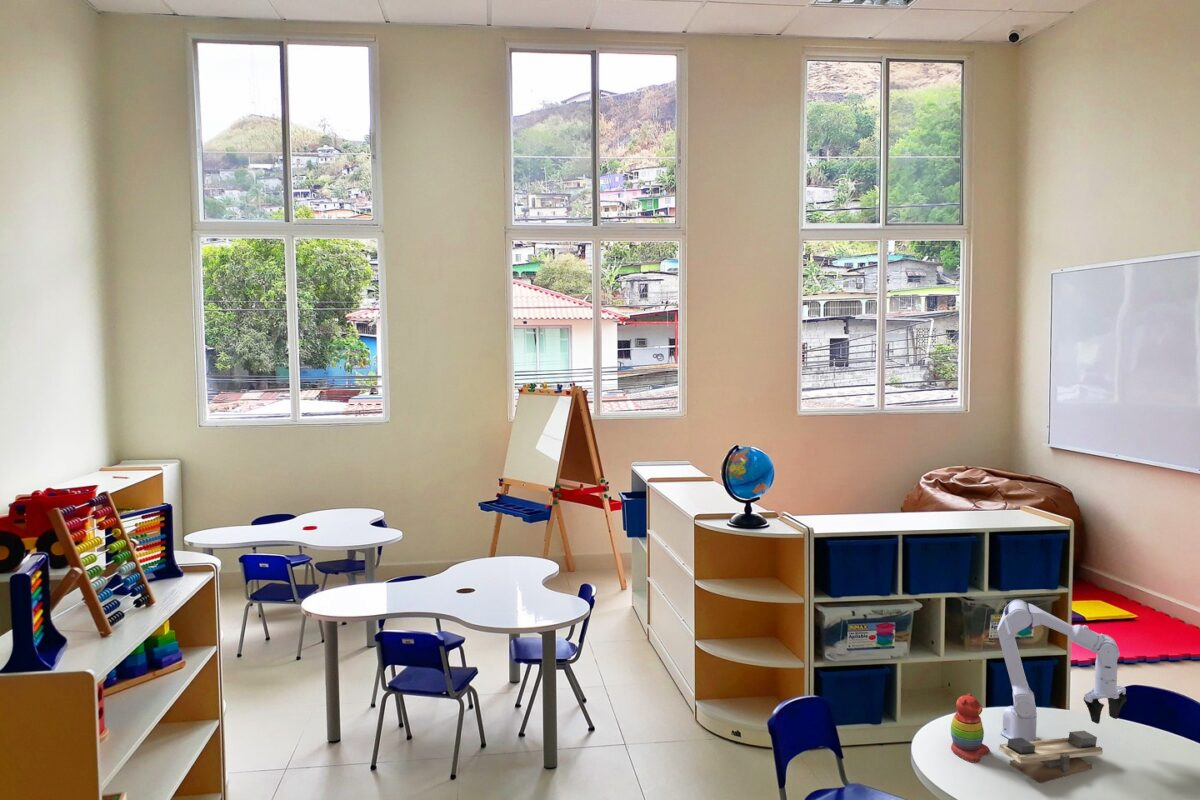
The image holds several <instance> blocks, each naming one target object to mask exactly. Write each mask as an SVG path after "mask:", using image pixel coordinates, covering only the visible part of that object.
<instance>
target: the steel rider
mask: <svg viewBox="0 0 1200 800" xmlns="http://www.w3.org/2000/svg"><path fill="white" fill-rule="evenodd" d="M1068 738H1069V740H1068V743H1069V744H1071V745H1072V746H1074V747H1076V748H1078V749H1082V748H1092V747H1097V740H1098V739H1097V736H1095V735H1093V734H1091V733H1090V732H1088V731H1086V730H1078V731H1077V730H1075V731H1069V734H1068Z"/></svg>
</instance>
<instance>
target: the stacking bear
mask: <svg viewBox="0 0 1200 800" xmlns="http://www.w3.org/2000/svg"><path fill="white" fill-rule="evenodd" d="M955 704H956V710H957V712H955V714H954V715H953V716H952V721H951V724H950V737H951V740H952V743H951V745H950V746H951V747H950V749H951V752H952V753H954V755H956V754H957V755H958V757H959V756H960V757H959V758H961V759H962V758H963V760H965V761H967V760H968V762H970V761H971V762H970V763H978V761H979V762H980V761H981V757H983V756H986V755H989V754H990V753H991V751H990V750H991V749H990V748H989V746H988V745H986V744H984V743H983V741H984V735H985V734H984V731H985V730H984V726H983V721H982V717H981V716H980V715H981V714H982V712H983V707H982V705H981V703H980V702H979V701H978V699H976V698H975V697H974V696H972V693H967V694H966V695H965V694H963V695H960V696H959V697H958V698H957V700H956V703H955ZM957 755H956V756H957Z"/></svg>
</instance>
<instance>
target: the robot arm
mask: <svg viewBox="0 0 1200 800" xmlns="http://www.w3.org/2000/svg"><path fill="white" fill-rule="evenodd" d="M1030 625H1031V626H1032V628H1033V627H1036V626H1041V625H1043V626H1045V627H1047V628H1048V629H1049V628H1050V629H1052V630H1054V631H1057V632H1059V633H1061V634H1063V635H1066V636H1068V638H1069V640H1070V642H1071V643H1074V644H1075V645H1078V646H1080V647H1082V648H1084V649H1086V650H1088V651H1090V652H1093V653H1096V656H1095V657H1096V659H1095V665H1094V667H1095V669H1094V670H1095V671H1094V688H1092V689H1091V690H1090V691H1088V692H1086V693H1084V697H1083V702H1084V704H1085V705H1086V707H1087V709H1088V712H1089V715H1090V720H1091V722H1093V723H1095V724H1097V725H1098V724H1100V721H1101V715H1102V710H1103V708H1104V707H1105V704H1104V703H1102V702H1100V699H1107V702H1108V703H1107V704H1108V714H1109V717H1111V718H1112V719H1114V720H1117V719H1118V718H1119V716H1120V715H1119V714H1120V711H1121V709H1122V707H1123V706H1124V704H1125V703H1126V702H1127V701H1128V700H1127V696H1125V695H1126V691H1127V689H1126V687H1124V686H1123V685H1117V683H1118V659H1119V658H1120V656H1121V652H1120V650H1119V646H1118V645H1117V643H1116V641H1115V639H1114V638H1113V637H1111V636H1110V635H1108V634H1103V633H1098V632H1096V631H1093V630H1091V629H1089V626H1088V625H1085V624H1084V625H1082V624H1074V625H1071V624H1070V623H1068V622H1066V621H1064V620H1062V619H1061V618H1059V617H1057V616H1055V615H1053V614H1051V613H1049V612H1047V611H1045V610H1043V609H1041V608H1039V607H1038V606H1036V605H1034V604H1032V603H1027V602H1026V601H1025V600H1022V599H1014V600H1011V601H1010V602H1009V603H1008V604H1007V605H1005V607H1004V609H1003V613H1002V616H1001V618H1000V620H999V622H998V625H997V628H996V629H997V635H998V639H999V643H1000V647H1001V651H1002V654H1003V658H1004V662H1005V665H1006V669H1007V672H1008V676H1009V677H1008V678H1009V681H1010V684H1011V689H1012V699H1013V705H1009V706H1007V707H1005V708H1004V711H1003V714H1002V731H1001V732H1000V735H1001V736H1003V737H1005V738H1007V739H1012V738H1023V739H1025V740H1026V741H1028V742H1030V741H1034V739H1037V738H1038V737H1037V722H1038V721H1037V717H1038V713H1037V707H1036V702H1035V693H1034V692H1033V691H1032V690H1031V688H1030V687H1029V683H1028V681H1027V677H1026V674H1025V671H1024V667H1023V663H1022V659H1021V656H1020V655H1021V654H1020V652H1019V648H1018V645H1017V640H1016V635H1017V634H1018V633H1019V632H1021V631H1022V630H1025V629H1026V628H1028V627H1030Z"/></svg>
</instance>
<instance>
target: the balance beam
mask: <svg viewBox="0 0 1200 800" xmlns="http://www.w3.org/2000/svg"><path fill="white" fill-rule="evenodd" d="M1068 740H1069V737H1063V738H1053V739H1051V738H1050V739H1041V740H1040V741H1030V743H1032V744H1033V745H1035V751H1034V754H1025V755H1019V754H1018V753H1016V752H1014V751H1013V750H1011V749H1009V748H1008V747H1007V746H1008V743H1001V744H999V746H998V751H1000V752H1001V753H1002V754H1004V755H1006V756H1008V757H1010V758H1011V759H1012V760H1016V761H1018V762H1019V763H1028V762H1037V761H1046V760H1055V759H1061V755H1063V754H1068V755H1069V756H1070V758H1074V757H1079V758H1083V757H1091V756H1092V757H1093V756H1101V755H1103V752H1104V750H1103V747H1101V746H1096V747H1092V748H1082V749H1078V748H1076V747H1074V746H1072V745H1071V744H1069V743H1068Z"/></svg>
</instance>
